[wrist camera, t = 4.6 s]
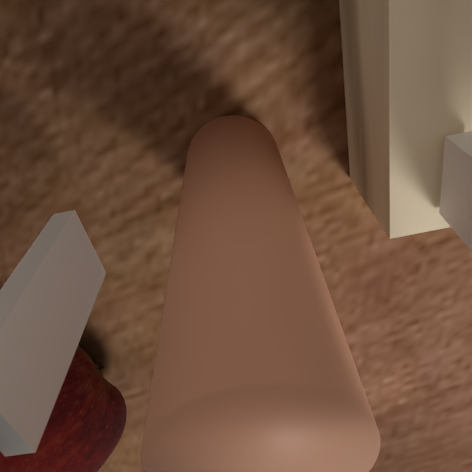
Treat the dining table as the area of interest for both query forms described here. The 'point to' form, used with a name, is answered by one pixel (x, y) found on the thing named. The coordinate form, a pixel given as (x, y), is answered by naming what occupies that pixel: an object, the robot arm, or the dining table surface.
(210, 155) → the peg
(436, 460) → the dining table surface
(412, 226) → the socket block
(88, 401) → the apple
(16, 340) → the robot arm
